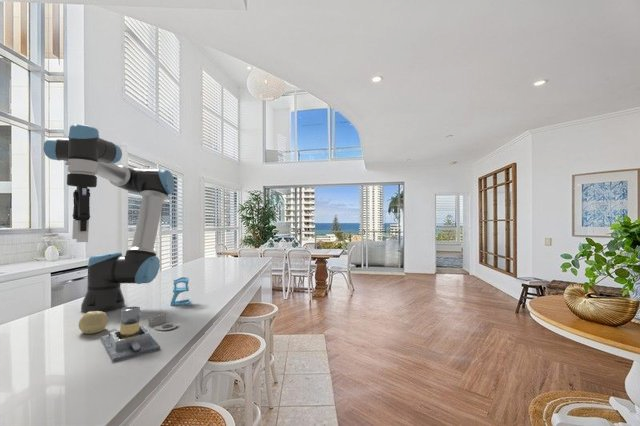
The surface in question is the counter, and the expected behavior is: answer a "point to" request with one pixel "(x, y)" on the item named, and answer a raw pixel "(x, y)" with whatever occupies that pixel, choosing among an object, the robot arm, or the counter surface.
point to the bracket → (159, 320)
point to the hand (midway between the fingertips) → (79, 240)
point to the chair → (180, 291)
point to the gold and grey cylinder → (130, 322)
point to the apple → (93, 322)
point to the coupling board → (129, 344)
